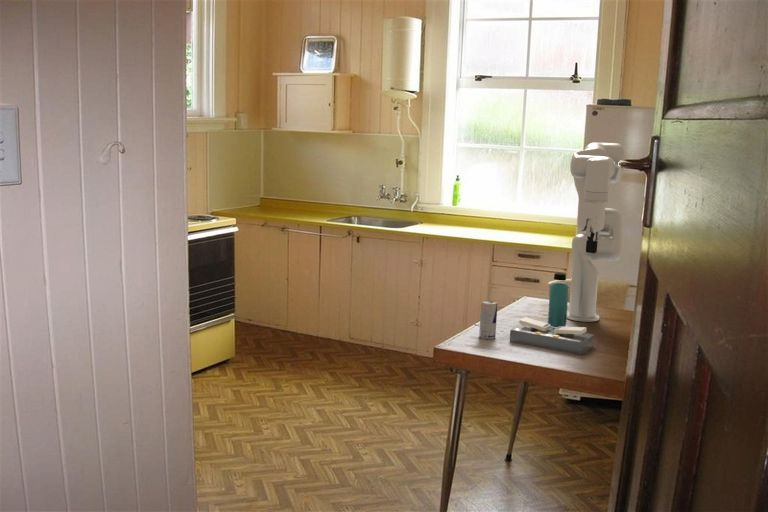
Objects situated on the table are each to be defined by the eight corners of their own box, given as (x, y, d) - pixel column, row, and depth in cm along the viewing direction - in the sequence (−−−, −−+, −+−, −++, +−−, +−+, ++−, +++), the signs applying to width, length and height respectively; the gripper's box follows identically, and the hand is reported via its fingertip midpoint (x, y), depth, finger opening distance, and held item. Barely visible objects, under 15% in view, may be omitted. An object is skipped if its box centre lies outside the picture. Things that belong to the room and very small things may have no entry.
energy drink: (497, 336, 264) (500, 301, 262) (491, 340, 260) (493, 304, 257) (483, 334, 267) (485, 299, 265) (476, 337, 262) (478, 302, 260)
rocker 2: (559, 329, 258) (559, 326, 258) (586, 331, 254) (586, 327, 254) (554, 333, 254) (554, 329, 254) (581, 334, 250) (581, 330, 249)
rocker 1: (524, 320, 265) (525, 316, 264) (550, 328, 260) (550, 324, 260) (519, 323, 260) (519, 319, 260) (544, 331, 256) (545, 327, 256)
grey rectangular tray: (523, 333, 269) (524, 319, 268) (592, 346, 257) (594, 331, 256) (509, 341, 259) (510, 327, 258) (581, 355, 247) (582, 340, 246)
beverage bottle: (566, 332, 273) (570, 275, 269) (546, 330, 274) (550, 274, 271) (565, 327, 279) (570, 272, 276) (546, 326, 280) (550, 270, 277)
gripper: (592, 193, 263) (587, 247, 267) (576, 197, 251) (572, 254, 255) (614, 195, 259) (609, 250, 263) (599, 200, 247) (594, 257, 251)
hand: (591, 252), depth 259 cm, fingers closed
